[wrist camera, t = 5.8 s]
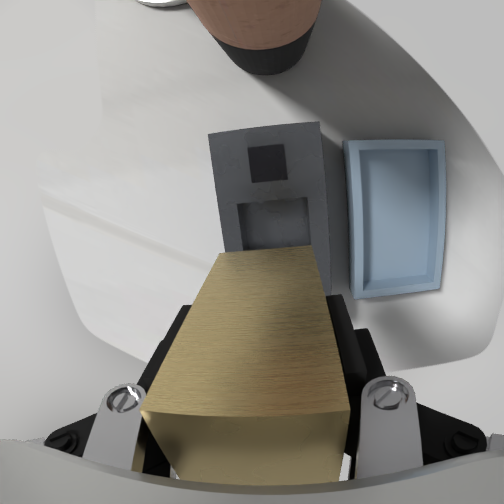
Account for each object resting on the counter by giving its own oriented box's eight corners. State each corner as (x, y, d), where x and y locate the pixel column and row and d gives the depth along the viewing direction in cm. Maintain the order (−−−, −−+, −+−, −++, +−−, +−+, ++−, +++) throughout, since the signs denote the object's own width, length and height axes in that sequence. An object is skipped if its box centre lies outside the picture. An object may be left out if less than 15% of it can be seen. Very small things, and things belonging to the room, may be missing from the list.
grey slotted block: (221, 135, 26) (207, 134, 21) (312, 125, 25) (319, 121, 20) (244, 300, 31) (237, 328, 26) (324, 294, 30) (331, 321, 25)
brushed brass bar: (219, 253, 14) (138, 410, 5) (311, 244, 13) (350, 409, 5) (233, 329, 15) (190, 494, 7) (315, 323, 14) (335, 495, 6)
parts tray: (342, 140, 25) (348, 140, 23) (431, 139, 24) (444, 140, 21) (349, 287, 29) (354, 299, 27) (429, 278, 28) (439, 288, 26)
